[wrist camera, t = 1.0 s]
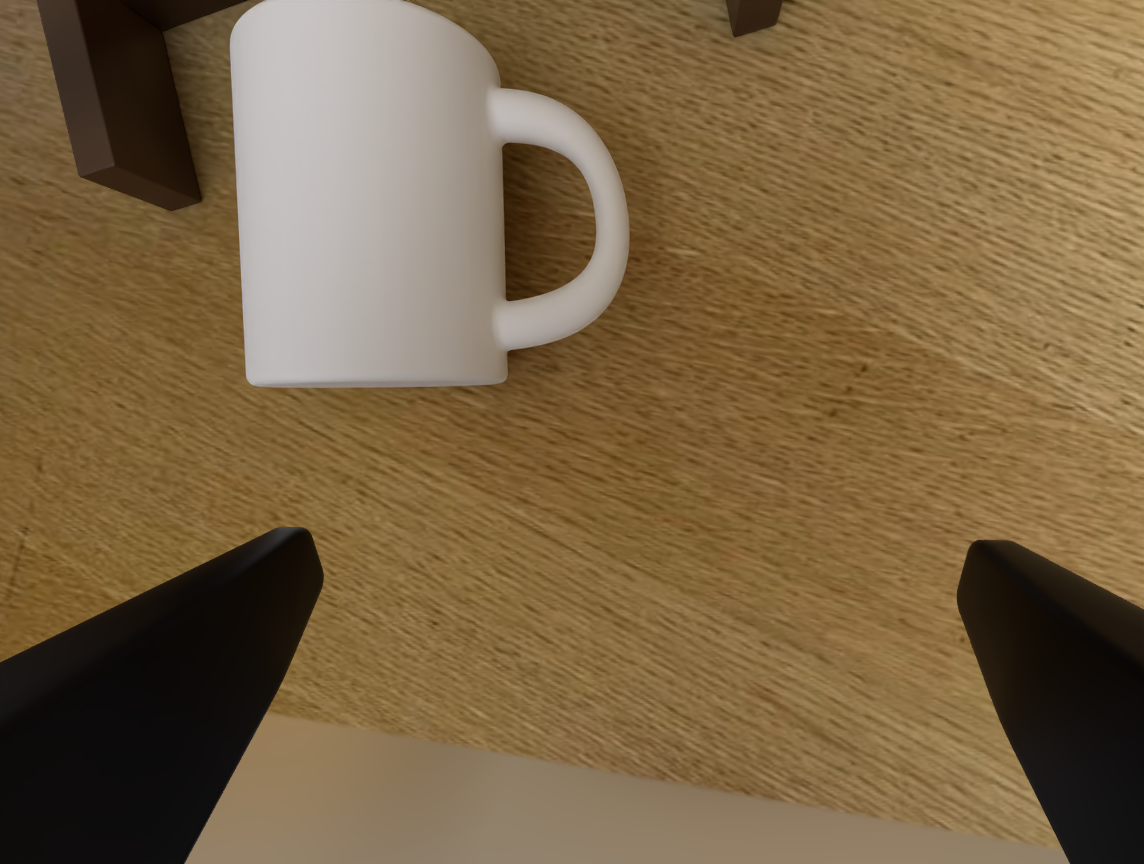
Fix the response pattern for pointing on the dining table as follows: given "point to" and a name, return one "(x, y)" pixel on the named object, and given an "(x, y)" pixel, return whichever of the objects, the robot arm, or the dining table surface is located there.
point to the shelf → (161, 88)
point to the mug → (393, 200)
